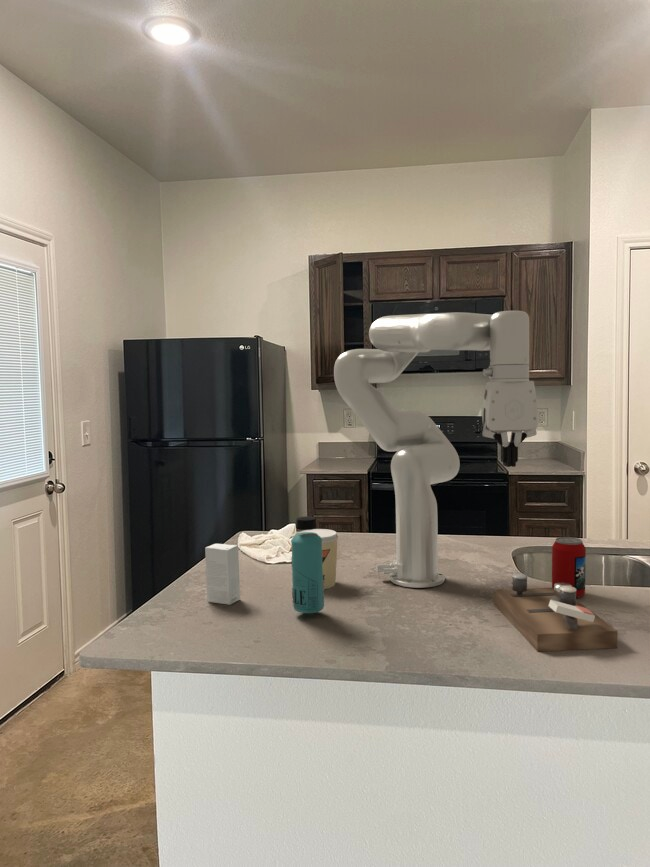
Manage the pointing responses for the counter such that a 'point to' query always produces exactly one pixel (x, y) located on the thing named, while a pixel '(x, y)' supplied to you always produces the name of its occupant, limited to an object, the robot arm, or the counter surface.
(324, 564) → the coffee cup
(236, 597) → the skincare box
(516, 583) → the lever grey
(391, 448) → the robot arm
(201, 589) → the counter surface
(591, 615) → the block
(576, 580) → the beverage can
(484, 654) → the counter surface
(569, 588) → the lever ivory
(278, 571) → the counter surface
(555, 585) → the button
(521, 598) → the console
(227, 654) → the counter surface
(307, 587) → the beverage bottle
